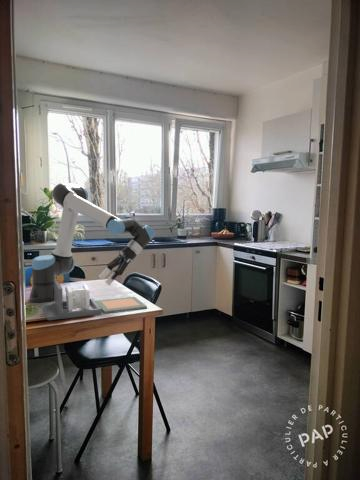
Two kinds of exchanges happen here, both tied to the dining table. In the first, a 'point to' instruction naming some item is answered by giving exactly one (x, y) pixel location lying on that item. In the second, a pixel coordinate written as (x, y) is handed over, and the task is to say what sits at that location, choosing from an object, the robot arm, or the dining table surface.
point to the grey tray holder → (56, 309)
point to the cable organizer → (77, 298)
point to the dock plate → (120, 304)
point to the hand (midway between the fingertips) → (103, 281)
